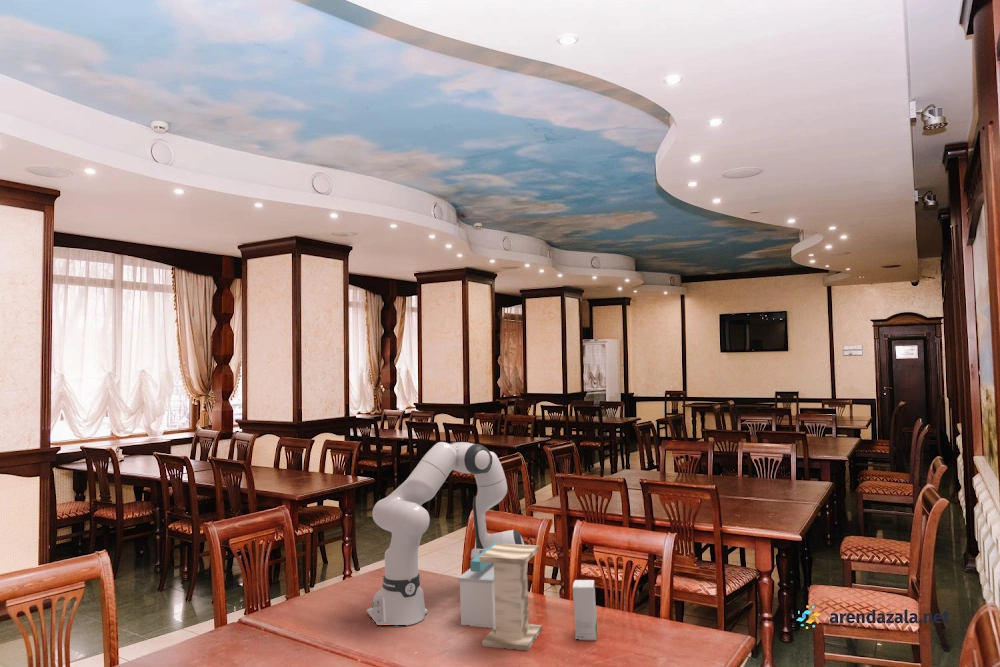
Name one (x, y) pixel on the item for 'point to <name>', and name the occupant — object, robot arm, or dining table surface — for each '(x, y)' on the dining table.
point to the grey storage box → (478, 598)
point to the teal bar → (476, 564)
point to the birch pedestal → (511, 597)
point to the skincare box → (584, 610)
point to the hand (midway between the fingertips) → (493, 550)
